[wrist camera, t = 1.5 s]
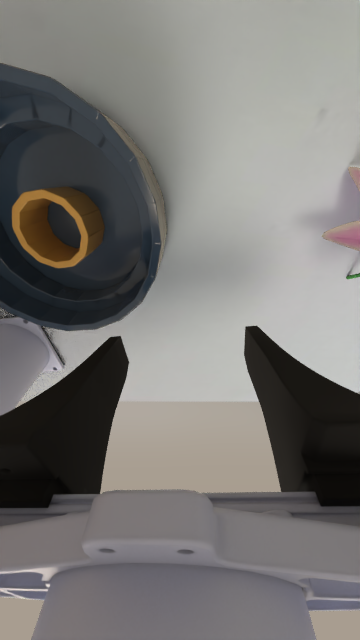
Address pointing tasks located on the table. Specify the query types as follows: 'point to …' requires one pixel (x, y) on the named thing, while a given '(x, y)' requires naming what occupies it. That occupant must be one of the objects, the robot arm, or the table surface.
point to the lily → (347, 226)
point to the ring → (38, 233)
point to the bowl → (85, 176)
